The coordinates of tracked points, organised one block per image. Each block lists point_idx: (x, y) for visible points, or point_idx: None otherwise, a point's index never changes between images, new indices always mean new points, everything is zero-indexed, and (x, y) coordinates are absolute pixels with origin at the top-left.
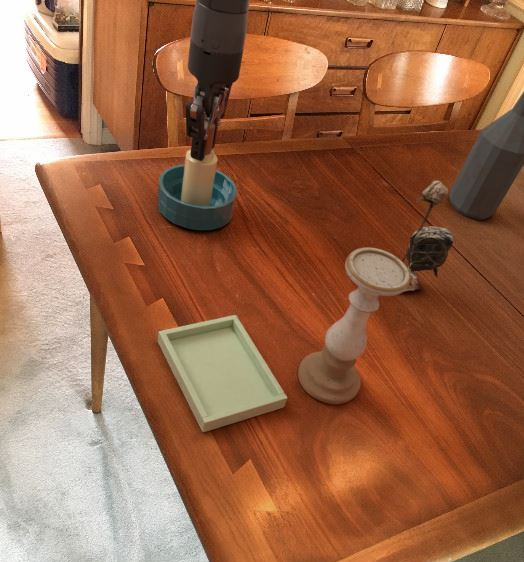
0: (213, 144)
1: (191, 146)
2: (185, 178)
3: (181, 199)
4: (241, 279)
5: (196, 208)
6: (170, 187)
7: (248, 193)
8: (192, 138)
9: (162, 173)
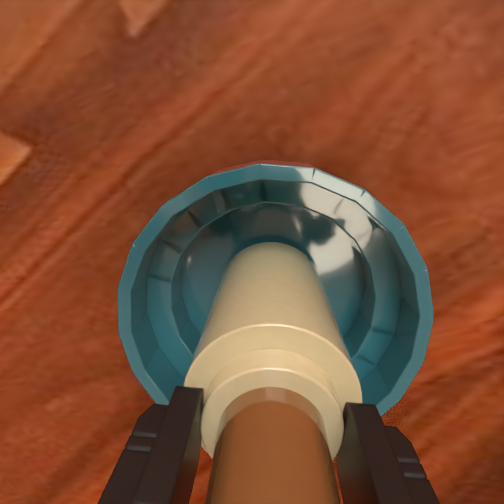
0: (342, 492)
1: (161, 428)
2: (220, 298)
3: (241, 254)
4: (51, 457)
5: (127, 355)
6: (277, 201)
7: (447, 401)
8: (139, 480)
9: (278, 167)
